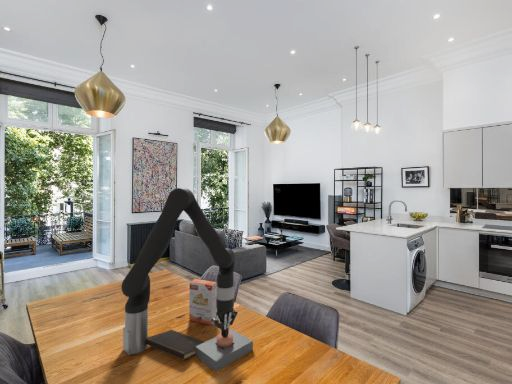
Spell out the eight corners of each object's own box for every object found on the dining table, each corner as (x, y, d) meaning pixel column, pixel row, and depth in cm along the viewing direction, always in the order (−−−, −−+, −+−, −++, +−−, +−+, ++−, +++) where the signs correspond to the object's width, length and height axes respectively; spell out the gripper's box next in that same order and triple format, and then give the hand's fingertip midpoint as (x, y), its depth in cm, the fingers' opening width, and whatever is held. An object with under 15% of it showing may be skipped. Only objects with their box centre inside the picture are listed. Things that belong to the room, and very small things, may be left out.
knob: (223, 357, 112) (223, 343, 112) (213, 350, 116) (213, 336, 116) (236, 350, 117) (236, 336, 117) (225, 343, 122) (225, 330, 121)
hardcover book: (170, 334, 133) (171, 329, 133) (208, 348, 122) (208, 343, 122) (143, 343, 119) (144, 338, 119) (183, 360, 108) (184, 354, 108)
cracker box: (188, 321, 144) (188, 281, 144) (195, 316, 150) (195, 278, 150) (211, 326, 139) (212, 285, 139) (217, 320, 145) (217, 281, 145)
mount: (216, 371, 105) (216, 361, 104) (195, 356, 114) (195, 346, 114) (252, 349, 119) (252, 340, 119) (231, 337, 129) (231, 329, 129)
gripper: (218, 303, 109) (218, 346, 109) (242, 294, 118) (242, 334, 119) (207, 298, 114) (206, 339, 114) (231, 289, 124) (231, 327, 124)
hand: (224, 336), depth 117 cm, fingers closed
